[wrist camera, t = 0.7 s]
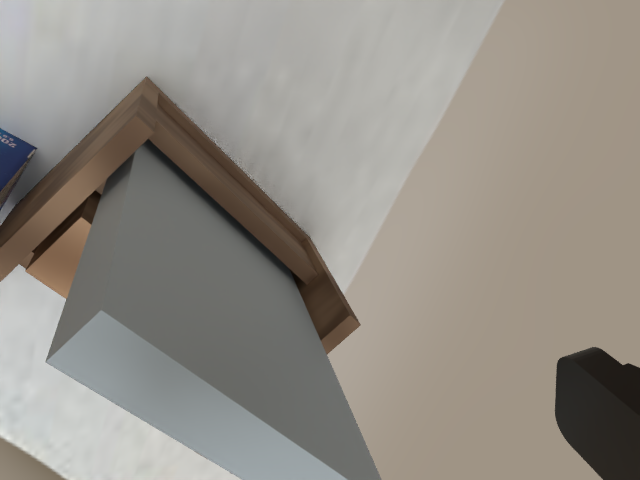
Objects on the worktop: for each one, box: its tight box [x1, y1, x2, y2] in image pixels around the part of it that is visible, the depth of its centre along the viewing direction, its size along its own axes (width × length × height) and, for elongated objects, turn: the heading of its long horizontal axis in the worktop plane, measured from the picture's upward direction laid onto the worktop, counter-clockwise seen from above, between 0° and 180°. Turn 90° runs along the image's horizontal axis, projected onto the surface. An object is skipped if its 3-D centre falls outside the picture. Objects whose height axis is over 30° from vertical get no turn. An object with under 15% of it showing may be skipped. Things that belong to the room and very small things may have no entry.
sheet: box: [46, 139, 381, 480], centre depth 26 cm, size 2×13×22 cm, turn 41°
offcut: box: [25, 190, 101, 299], centre depth 31 cm, size 4×6×8 cm, turn 41°
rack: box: [0, 77, 360, 459], centre depth 32 cm, size 12×16×12 cm
